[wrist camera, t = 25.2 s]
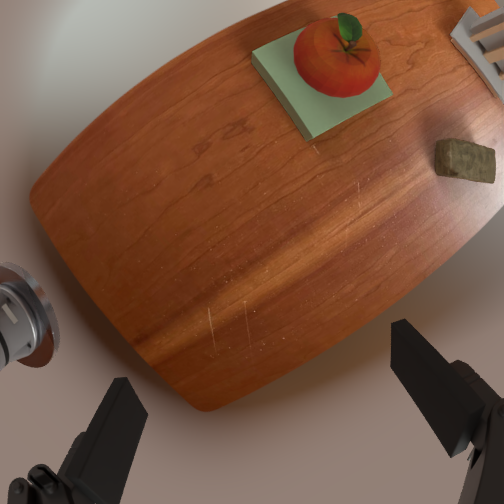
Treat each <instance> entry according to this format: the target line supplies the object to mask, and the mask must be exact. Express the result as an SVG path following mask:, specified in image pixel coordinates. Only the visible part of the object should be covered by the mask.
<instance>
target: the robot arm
mask: <svg viewBox="0 0 504 504" xmlns="http://www.w3.org/2000/svg"><path fill="white" fill-rule="evenodd" d="M38 343H39V331H38V326H37V323H36V320H35V318H34V315H33V313H32V311H31V309H30V308H29V306H28V304H27V303H26V302H25V300H24V299H23V298H22V296H21V295H20V294H19V293H18V292H16V291H15V290H14V289H13V288H11V287H9V286H6V285H0V371H1V370H2V369H3V368H4V367H5V366H6V365H7V364H8V363H9V362H12V361H15V360H18V359H20V358H23V357H26V356H28V355H30V354H31V353H32V352H33V351H34V350H35V349H36V348H37V346H38ZM390 367H391V369H392V370H393V371H394V373H395V374H396V376H397V377H398V379H399V380H400V381H401V383H402V384H403V386H404V387H405V389H406V390H407V392H408V393H409V395H410V396H411V397H412V399H413V401H414V402H415V404H416V405H417V407H418V408H419V410H420V411H421V413H422V414H423V416H424V417H425V419H426V420H427V422H428V423H429V425H430V426H431V428H432V430H433V431H434V433H435V434H436V436H437V437H438V439H439V440H440V442H441V444H442V445H443V447H444V448H445V450H446V451H447V453H448V455H449V456H450V458H452V457H454V456H455V455H457V454H459V453H461V452H462V451H464V450H466V448H467V446H468V444H469V442H470V441H471V442H472V444H473V445H474V448H473V450H472V451H471V453H470V455H469V457H468V459H467V460H470V464H469V467H468V472H467V475H466V479H465V483H464V486H463V490H462V492H461V496H460V499H459V502H458V504H504V398H501V397H500V396H499V395H497V393H496V392H495V391H494V390H493V389H492V388H491V387H490V386H489V385H488V384H487V383H486V382H485V381H484V380H483V379H482V378H480V376H479V375H478V374H477V373H475V371H474V370H473V369H472V368H471V367H470V366H469V365H468V364H467V363H464V362H462V361H460V360H456V361H454V362H453V363H450V364H449V363H448V362H447V361H446V360H445V359H444V358H443V356H442V355H440V353H439V352H438V351H437V350H436V349H435V348H434V347H433V346H432V345H431V344H430V343H429V342H428V341H427V340H426V339H425V338H424V337H423V336H422V335H421V334H420V333H419V332H418V331H417V330H416V329H415V328H414V327H413V326H412V325H411V324H410V323H409V322H408V321H407V320H406V319H402V320H399V321H396V322H393V323H391V365H390ZM147 417H148V413H147V412H146V410H145V408H144V407H143V405H142V403H141V402H140V400H139V398H138V396H137V395H136V393H135V391H134V389H133V388H132V386H131V384H130V382H129V380H128V378H127V377H122V378H114V380H113V382H112V384H111V386H110V387H109V389H108V391H107V393H106V395H105V396H104V398H103V400H102V402H101V404H100V405H99V407H98V409H97V411H96V413H95V415H94V417H93V419H92V420H91V422H90V424H89V427H88V428H87V431H86V432H81V433H80V434H79V435H78V436H77V437H76V438H75V440H74V442H73V444H72V446H71V448H70V450H69V452H68V454H67V455H66V458H65V460H64V461H63V464H62V465H61V467H60V469H59V471H58V473H57V475H56V474H55V473H54V472H53V471H52V470H51V469H50V468H49V467H48V466H46V465H44V464H39V465H36V466H34V467H33V468H32V469H31V470H30V471H29V473H28V478H27V479H28V480H29V481H30V482H31V483H32V484H33V485H31V484H30V483H29V482H28V481H27V480H25V479H24V478H16V479H14V480H13V481H12V482H11V484H10V486H9V492H8V503H7V504H95V503H96V504H119V503H120V500H121V497H122V494H123V490H124V487H125V483H126V481H127V477H128V474H129V471H130V468H131V465H132V462H133V459H134V456H135V452H136V449H137V446H138V443H139V440H140V437H141V434H142V431H143V428H144V426H145V422H146V419H147ZM470 458H471V459H470Z"/></svg>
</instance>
